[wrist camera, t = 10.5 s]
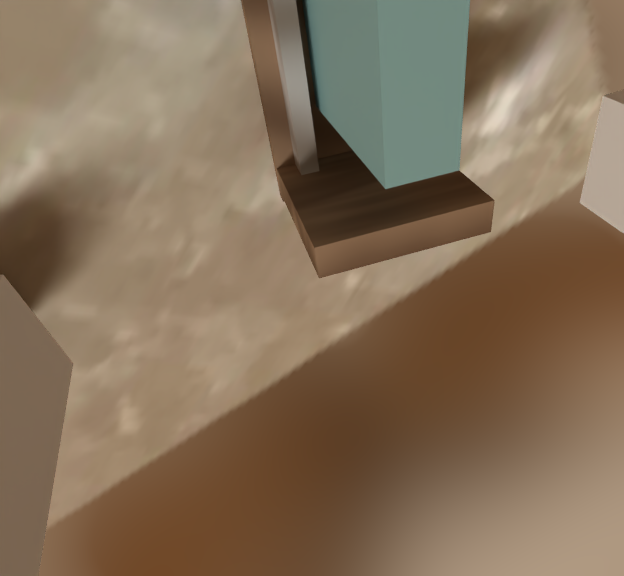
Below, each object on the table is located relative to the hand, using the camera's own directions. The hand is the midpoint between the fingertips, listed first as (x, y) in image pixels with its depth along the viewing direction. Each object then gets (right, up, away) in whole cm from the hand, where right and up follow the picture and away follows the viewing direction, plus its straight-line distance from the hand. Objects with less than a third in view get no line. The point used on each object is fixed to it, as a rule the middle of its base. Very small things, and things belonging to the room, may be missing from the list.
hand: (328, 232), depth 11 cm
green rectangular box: (+1, +15, +16) cm, 22 cm away
